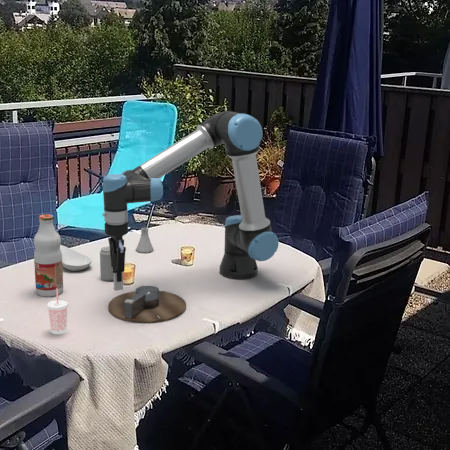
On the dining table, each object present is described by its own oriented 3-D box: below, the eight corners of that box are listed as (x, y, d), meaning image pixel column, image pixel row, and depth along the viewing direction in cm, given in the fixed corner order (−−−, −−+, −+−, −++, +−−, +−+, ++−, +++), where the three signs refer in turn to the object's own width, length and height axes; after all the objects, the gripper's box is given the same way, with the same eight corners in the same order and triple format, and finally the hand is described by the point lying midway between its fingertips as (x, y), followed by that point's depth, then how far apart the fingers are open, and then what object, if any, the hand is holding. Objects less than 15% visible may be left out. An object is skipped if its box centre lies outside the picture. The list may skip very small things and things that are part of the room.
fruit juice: (68, 292, 223) (65, 216, 216) (44, 299, 217) (40, 220, 209) (55, 285, 230) (51, 211, 222) (31, 291, 224) (26, 215, 216)
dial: (142, 297, 218) (142, 282, 216) (163, 301, 215) (163, 286, 214) (117, 315, 202) (116, 299, 201) (139, 320, 200) (139, 303, 198)
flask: (144, 247, 277) (144, 225, 274) (156, 250, 273) (156, 228, 270) (132, 251, 271) (132, 228, 268) (145, 254, 267) (145, 232, 264)
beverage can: (114, 282, 235) (113, 251, 231) (97, 280, 236) (97, 250, 232) (120, 276, 241) (119, 246, 237) (104, 275, 242) (103, 245, 238)
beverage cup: (44, 333, 192) (42, 290, 188) (56, 325, 197) (54, 283, 193) (61, 336, 190) (59, 293, 186) (73, 328, 195) (71, 286, 191)
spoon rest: (98, 268, 249) (97, 251, 247) (74, 276, 240) (73, 258, 238) (59, 255, 263) (58, 239, 261) (36, 262, 254) (35, 245, 252)
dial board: (170, 289, 230) (170, 285, 230) (197, 316, 207) (197, 312, 207) (99, 298, 219) (99, 295, 219) (120, 328, 196) (120, 324, 196)
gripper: (99, 218, 210) (102, 284, 217) (110, 228, 199) (112, 298, 205) (121, 216, 213) (123, 281, 220) (133, 226, 202) (134, 294, 208)
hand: (118, 289), depth 212 cm, fingers closed
